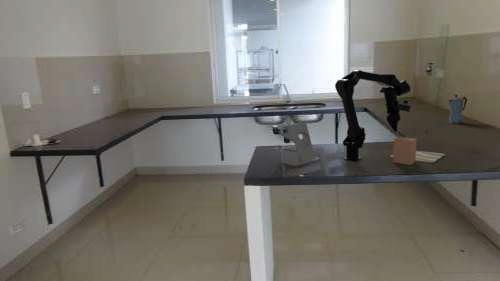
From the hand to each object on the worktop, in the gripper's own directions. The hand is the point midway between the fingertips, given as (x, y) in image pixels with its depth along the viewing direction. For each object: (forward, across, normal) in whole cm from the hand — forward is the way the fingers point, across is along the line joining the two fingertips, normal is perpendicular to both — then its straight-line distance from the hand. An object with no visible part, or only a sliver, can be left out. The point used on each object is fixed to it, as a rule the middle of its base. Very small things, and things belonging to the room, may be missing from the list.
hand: (395, 128), depth 188 cm
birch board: (+13, -8, -8) cm, 17 cm away
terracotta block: (+10, -20, -2) cm, 22 cm away
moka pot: (+34, +95, -38) cm, 108 cm away
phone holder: (+1, -26, +45) cm, 52 cm away
